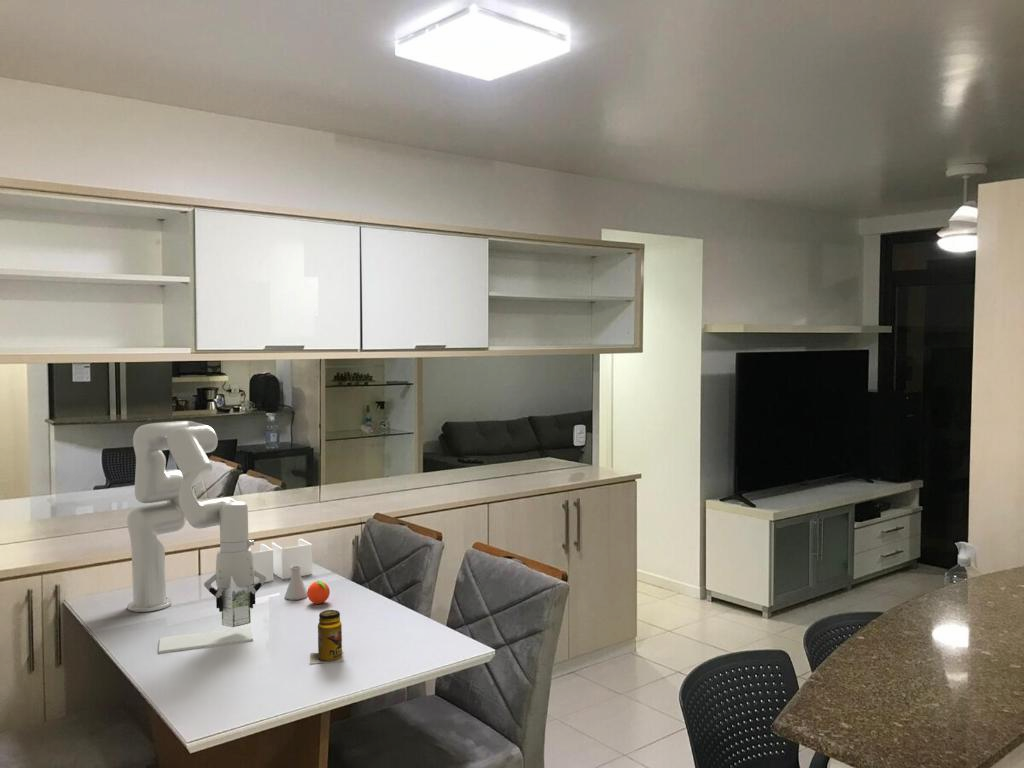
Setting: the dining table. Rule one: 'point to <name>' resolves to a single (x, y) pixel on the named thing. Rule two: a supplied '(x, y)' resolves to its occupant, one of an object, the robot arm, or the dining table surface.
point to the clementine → (318, 592)
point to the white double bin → (282, 560)
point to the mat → (205, 639)
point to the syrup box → (235, 605)
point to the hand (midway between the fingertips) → (236, 608)
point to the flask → (296, 585)
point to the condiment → (328, 638)
